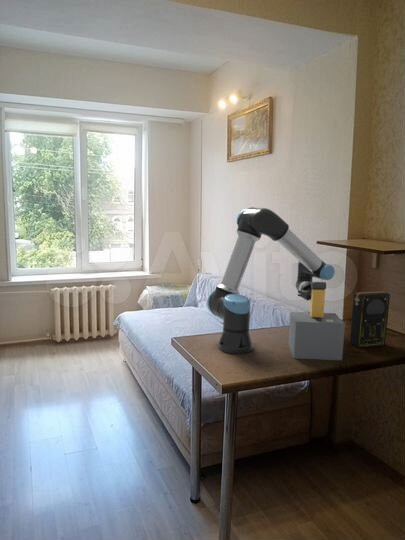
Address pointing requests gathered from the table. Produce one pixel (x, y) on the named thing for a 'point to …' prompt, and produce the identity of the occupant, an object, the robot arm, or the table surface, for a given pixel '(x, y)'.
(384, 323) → the voltmeter
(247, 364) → the table surface
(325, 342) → the box
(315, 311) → the yellow tall block
